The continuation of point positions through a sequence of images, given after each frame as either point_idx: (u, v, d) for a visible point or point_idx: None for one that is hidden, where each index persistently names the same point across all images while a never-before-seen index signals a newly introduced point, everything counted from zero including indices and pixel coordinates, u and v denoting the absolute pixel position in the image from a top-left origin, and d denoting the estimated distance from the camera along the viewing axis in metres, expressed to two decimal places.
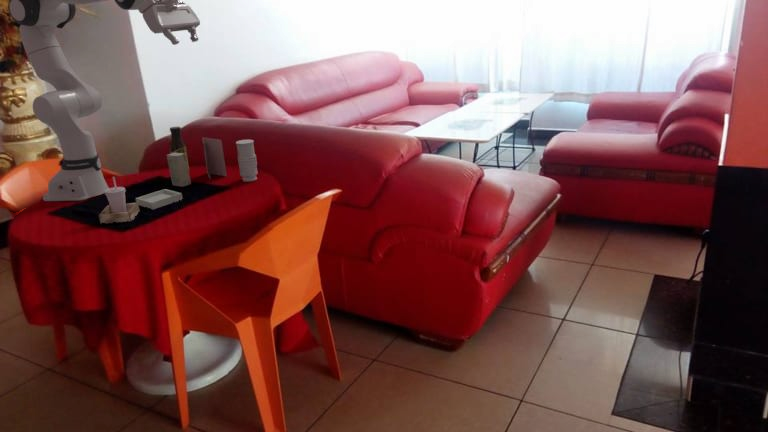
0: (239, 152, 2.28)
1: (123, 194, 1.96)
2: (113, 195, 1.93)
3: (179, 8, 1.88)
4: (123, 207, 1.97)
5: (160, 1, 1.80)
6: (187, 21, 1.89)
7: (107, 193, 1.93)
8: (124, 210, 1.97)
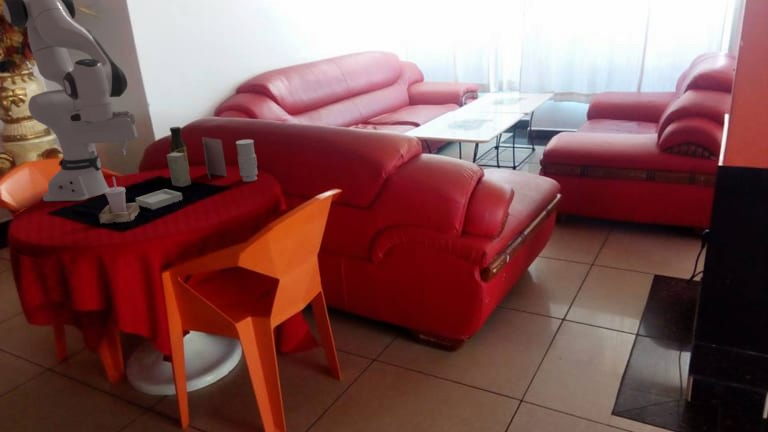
0: (239, 152, 2.28)
1: (123, 194, 1.96)
2: (113, 195, 1.93)
3: (110, 123, 1.86)
4: (123, 207, 1.97)
5: (78, 121, 1.83)
6: (114, 138, 1.88)
7: (107, 193, 1.93)
8: (124, 210, 1.97)
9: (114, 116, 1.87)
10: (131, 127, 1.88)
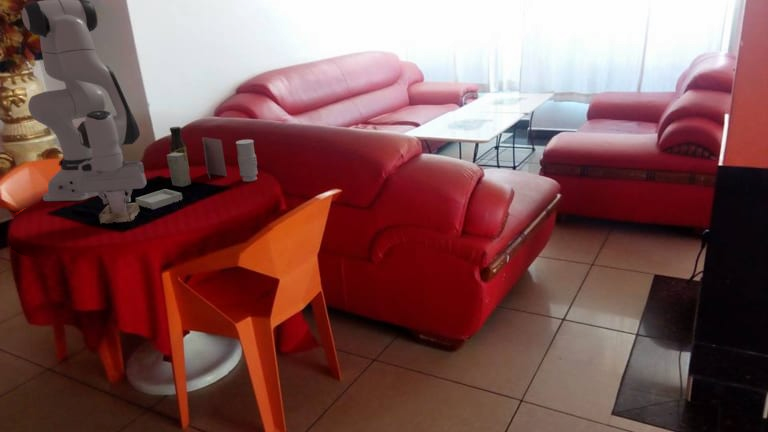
0: (239, 152, 2.28)
1: (123, 194, 1.96)
2: (113, 195, 1.93)
3: (120, 172, 1.92)
4: (123, 207, 1.97)
5: (89, 170, 1.89)
6: (124, 186, 1.94)
7: (107, 193, 1.93)
8: (124, 210, 1.97)
9: (124, 165, 1.93)
10: (140, 176, 1.93)
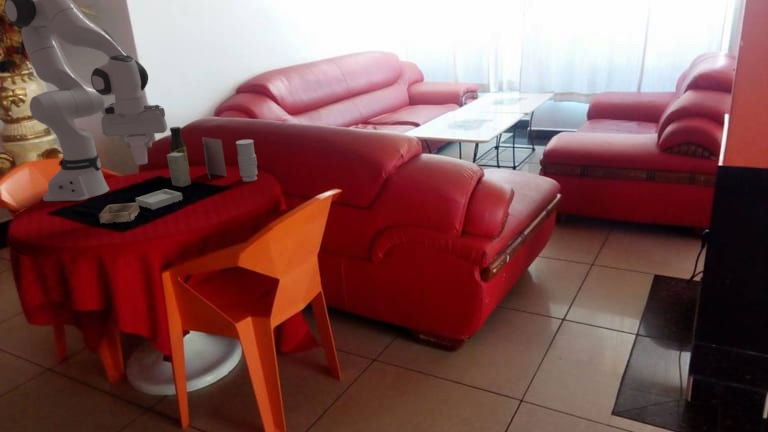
0: (239, 152, 2.28)
1: (145, 140, 2.00)
2: (135, 140, 1.97)
3: (142, 116, 1.96)
4: (144, 153, 2.01)
5: (112, 113, 1.93)
6: (145, 131, 1.98)
7: (129, 138, 1.97)
8: (145, 156, 2.02)
9: (145, 109, 1.97)
10: (161, 120, 1.97)
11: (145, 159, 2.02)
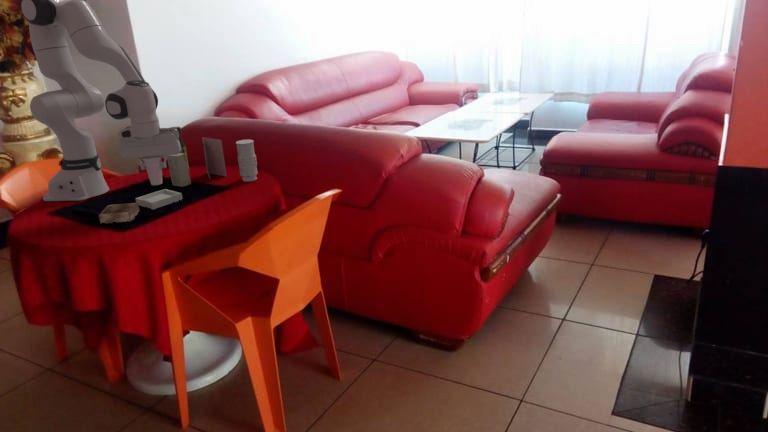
0: (239, 152, 2.28)
1: (160, 161, 2.06)
2: (151, 161, 2.04)
3: (157, 139, 2.03)
4: (160, 173, 2.07)
5: (128, 137, 2.00)
6: (160, 152, 2.04)
7: (145, 159, 2.04)
8: (160, 176, 2.08)
9: (160, 132, 2.03)
10: (176, 142, 2.04)
11: (160, 179, 2.08)
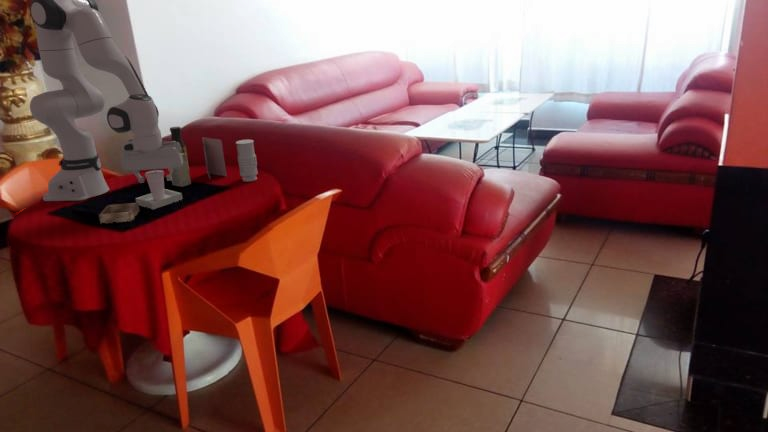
0: (239, 152, 2.28)
1: (162, 177, 2.08)
2: (153, 177, 2.06)
3: (159, 152, 2.04)
4: (162, 189, 2.09)
5: (131, 150, 2.01)
6: (162, 165, 2.06)
7: (147, 175, 2.06)
8: (163, 192, 2.10)
9: (163, 145, 2.05)
10: (178, 155, 2.06)
11: (162, 195, 2.10)
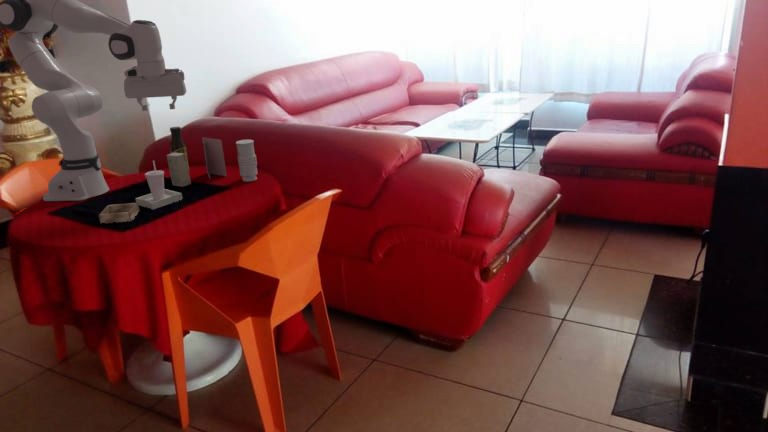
0: (239, 152, 2.28)
1: (162, 177, 2.08)
2: (153, 178, 2.06)
3: (162, 79, 2.05)
4: (162, 189, 2.09)
5: (134, 76, 2.02)
6: (165, 93, 2.07)
7: (148, 176, 2.06)
8: (163, 192, 2.10)
9: (166, 73, 2.06)
10: (181, 83, 2.07)
11: (162, 195, 2.10)
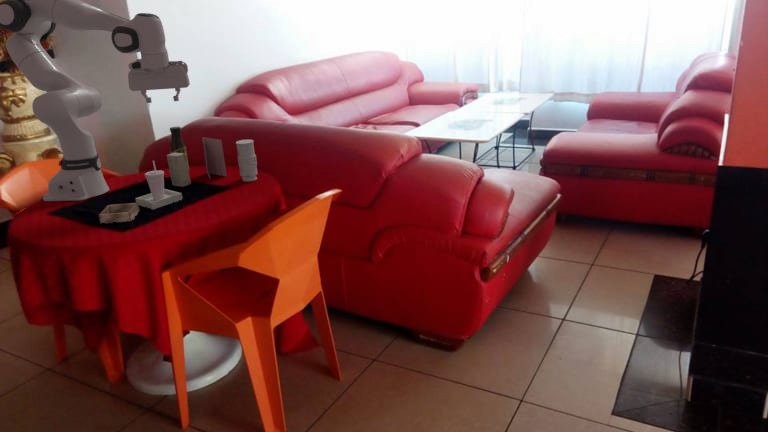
0: (239, 152, 2.28)
1: (162, 177, 2.08)
2: (153, 178, 2.06)
3: (166, 71, 2.08)
4: (162, 189, 2.09)
5: (138, 68, 2.05)
6: (169, 85, 2.10)
7: (147, 176, 2.06)
8: (163, 192, 2.10)
9: (170, 65, 2.09)
10: (185, 75, 2.09)
11: (162, 195, 2.10)
